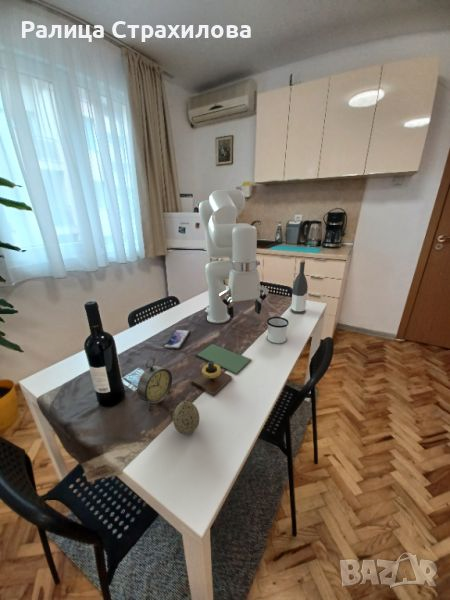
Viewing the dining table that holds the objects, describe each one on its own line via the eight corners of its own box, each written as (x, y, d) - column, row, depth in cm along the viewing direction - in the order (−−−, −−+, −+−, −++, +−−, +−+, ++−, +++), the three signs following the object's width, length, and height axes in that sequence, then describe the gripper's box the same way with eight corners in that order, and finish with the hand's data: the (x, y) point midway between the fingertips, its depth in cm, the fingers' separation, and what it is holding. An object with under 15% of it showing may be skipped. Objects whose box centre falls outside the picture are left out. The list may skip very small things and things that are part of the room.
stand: (192, 383, 84) (190, 364, 81) (210, 368, 91) (209, 350, 88) (214, 395, 78) (212, 376, 75) (231, 378, 85) (231, 360, 82)
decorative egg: (200, 417, 70) (197, 391, 67) (200, 439, 64) (198, 411, 60) (175, 420, 70) (171, 394, 66) (173, 442, 63) (169, 415, 59)
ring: (198, 373, 83) (198, 370, 82) (210, 363, 87) (210, 361, 87) (212, 380, 79) (212, 378, 79) (224, 370, 84) (224, 367, 83)
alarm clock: (150, 415, 72) (141, 371, 66) (138, 407, 74) (128, 365, 68) (175, 391, 80) (169, 351, 74) (163, 386, 83) (157, 346, 77)
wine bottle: (293, 306, 142) (298, 256, 130) (307, 310, 137) (313, 258, 126) (288, 311, 136) (292, 259, 124) (302, 315, 131) (308, 261, 120)
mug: (285, 346, 104) (286, 327, 100) (264, 342, 107) (264, 324, 104) (289, 333, 114) (291, 316, 110) (270, 329, 117) (271, 313, 114)
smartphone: (163, 346, 104) (176, 329, 118) (164, 348, 105) (176, 331, 118) (179, 347, 103) (189, 330, 117) (179, 349, 103) (190, 331, 117)
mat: (196, 355, 99) (196, 354, 99) (212, 344, 106) (212, 343, 106) (236, 374, 88) (236, 372, 87) (250, 360, 95) (250, 359, 95)
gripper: (264, 261, 81) (263, 307, 88) (215, 265, 77) (217, 313, 84) (274, 266, 75) (272, 315, 81) (221, 271, 71) (223, 322, 77)
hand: (244, 314), depth 82 cm, fingers open, 9 cm apart
